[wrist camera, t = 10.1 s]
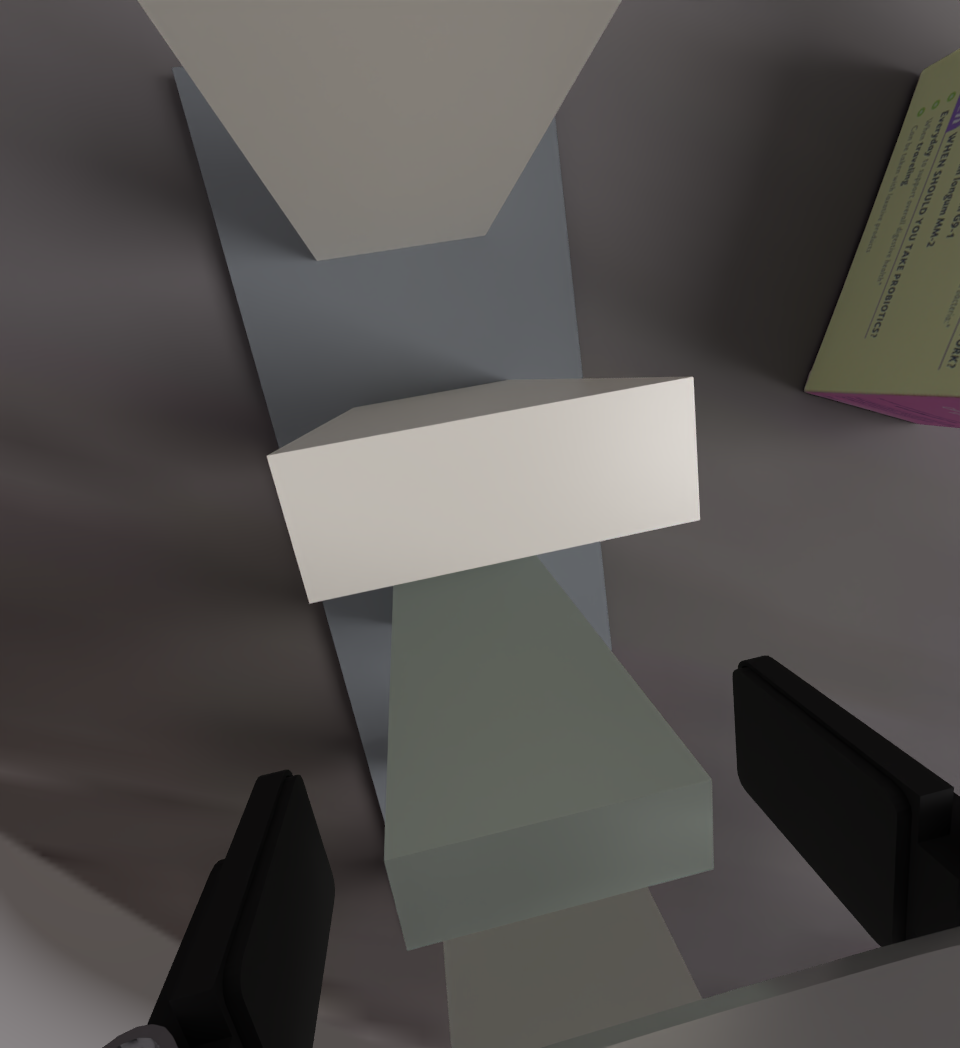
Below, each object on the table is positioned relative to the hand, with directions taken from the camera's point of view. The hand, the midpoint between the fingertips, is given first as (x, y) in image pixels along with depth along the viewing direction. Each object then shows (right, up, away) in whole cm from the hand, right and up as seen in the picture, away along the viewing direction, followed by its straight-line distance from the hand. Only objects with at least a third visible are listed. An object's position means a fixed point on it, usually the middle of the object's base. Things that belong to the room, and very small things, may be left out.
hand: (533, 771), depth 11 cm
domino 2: (-2, +9, +6) cm, 11 cm away
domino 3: (-2, +3, +8) cm, 8 cm away
